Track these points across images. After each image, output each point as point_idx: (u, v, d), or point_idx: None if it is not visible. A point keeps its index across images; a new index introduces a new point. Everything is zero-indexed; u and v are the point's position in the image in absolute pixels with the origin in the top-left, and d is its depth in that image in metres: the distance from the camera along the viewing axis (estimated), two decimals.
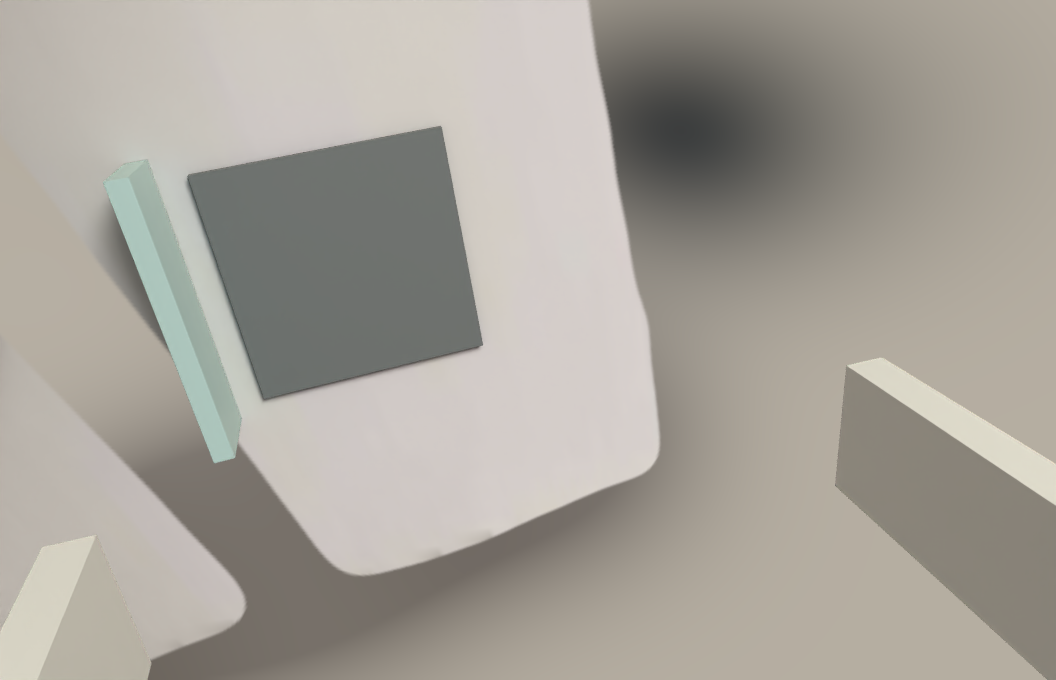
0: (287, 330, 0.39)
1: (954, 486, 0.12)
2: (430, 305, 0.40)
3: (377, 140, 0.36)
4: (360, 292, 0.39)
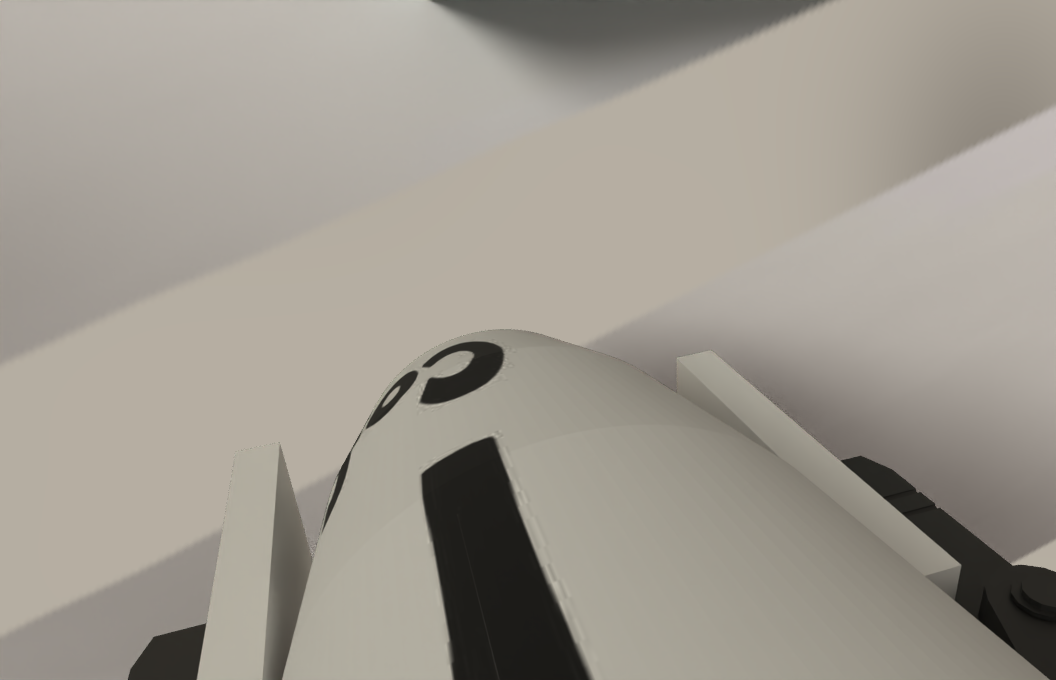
0: None
1: None
2: None
3: None
4: None
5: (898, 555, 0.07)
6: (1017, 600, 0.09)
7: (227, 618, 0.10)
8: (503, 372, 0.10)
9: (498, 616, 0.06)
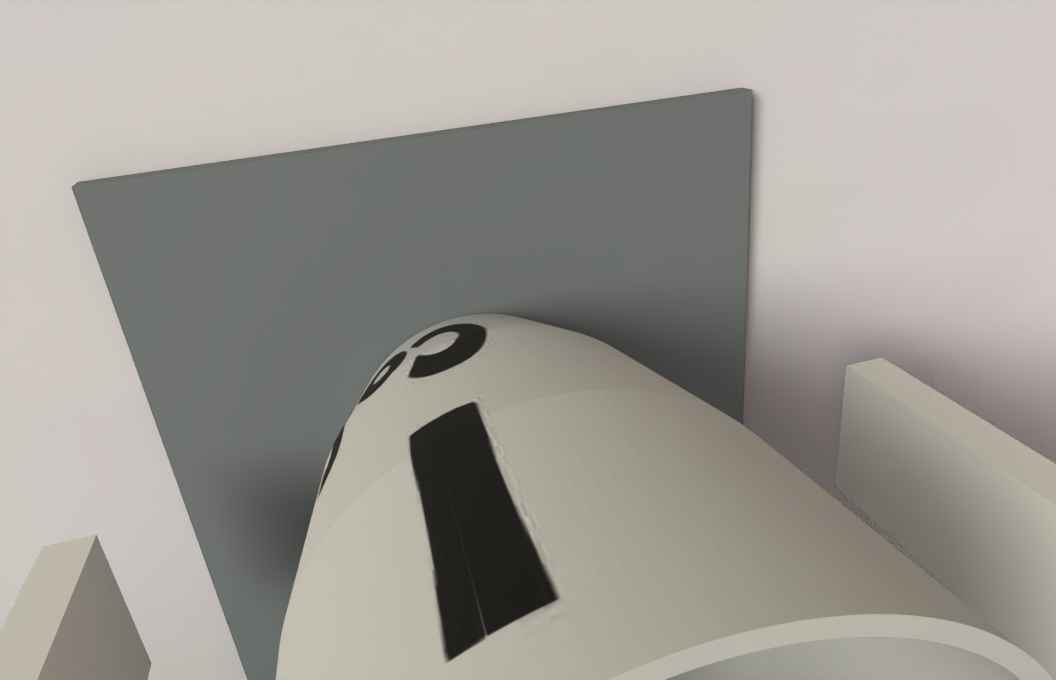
0: None
1: (953, 486, 0.12)
2: (608, 236, 0.15)
3: (137, 362, 0.13)
4: None
5: (836, 500, 0.08)
6: None
7: None
8: (485, 348, 0.11)
9: (477, 546, 0.07)
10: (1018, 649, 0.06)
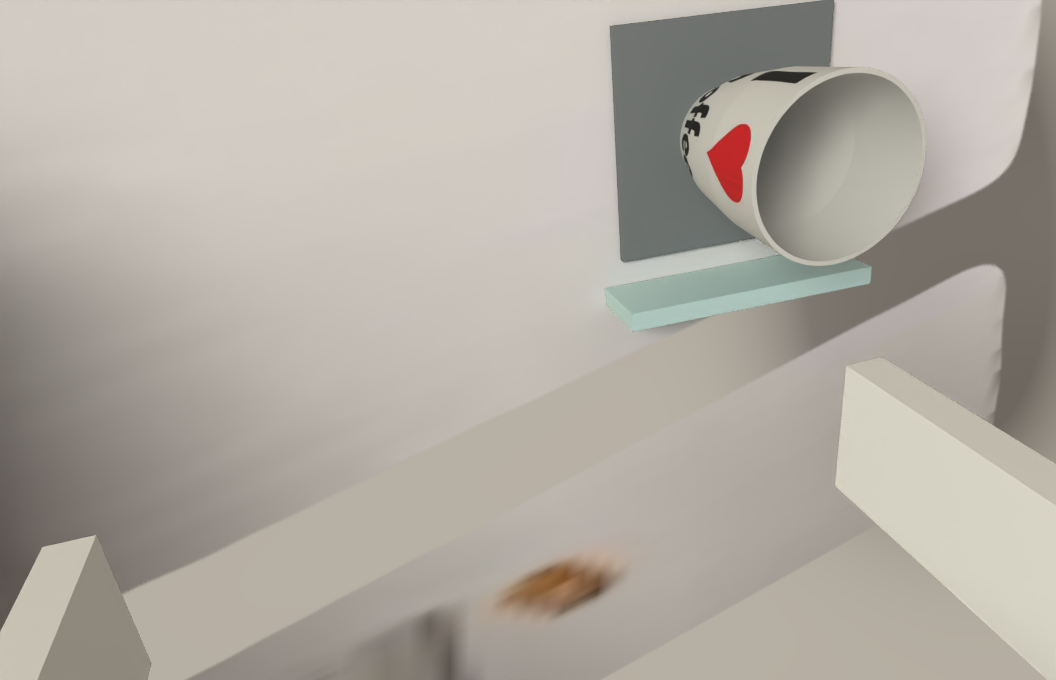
0: None
1: (953, 486, 0.12)
2: (778, 56, 0.39)
3: (616, 94, 0.38)
4: None
5: None
6: None
7: None
8: None
9: (792, 76, 0.31)
10: (908, 89, 0.30)
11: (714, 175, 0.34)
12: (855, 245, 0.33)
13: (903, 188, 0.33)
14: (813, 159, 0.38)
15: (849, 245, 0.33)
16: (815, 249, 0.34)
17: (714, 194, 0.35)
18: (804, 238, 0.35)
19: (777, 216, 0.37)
